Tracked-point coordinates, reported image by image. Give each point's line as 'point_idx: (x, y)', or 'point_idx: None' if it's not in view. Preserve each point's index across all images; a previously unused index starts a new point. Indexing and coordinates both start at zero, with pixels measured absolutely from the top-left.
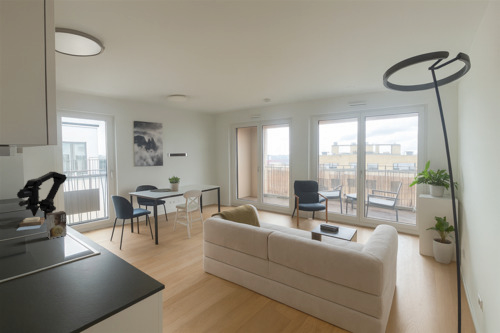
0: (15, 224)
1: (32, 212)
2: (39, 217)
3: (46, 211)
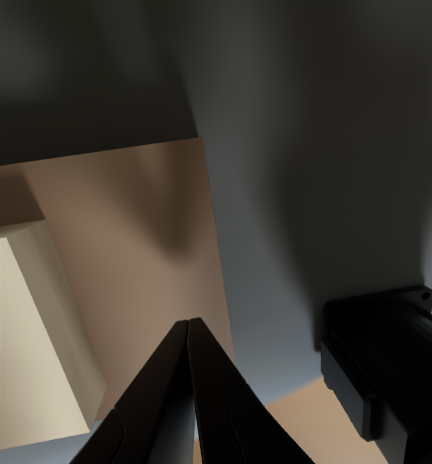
0: (133, 29)
1: (120, 411)
2: (71, 430)
3: (415, 443)
